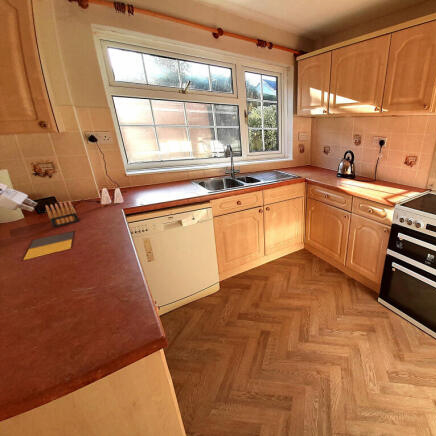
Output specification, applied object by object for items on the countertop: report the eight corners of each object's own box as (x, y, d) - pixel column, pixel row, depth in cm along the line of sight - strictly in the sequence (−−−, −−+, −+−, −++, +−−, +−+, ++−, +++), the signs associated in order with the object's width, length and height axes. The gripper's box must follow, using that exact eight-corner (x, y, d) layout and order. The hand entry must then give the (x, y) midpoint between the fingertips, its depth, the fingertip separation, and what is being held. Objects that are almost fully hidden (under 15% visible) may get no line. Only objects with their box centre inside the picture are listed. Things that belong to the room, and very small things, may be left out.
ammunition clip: (78, 220, 133) (70, 199, 129) (79, 221, 132) (71, 200, 128) (53, 227, 126) (43, 205, 121) (53, 228, 125) (43, 206, 120)
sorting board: (24, 262, 93) (22, 259, 93) (34, 242, 110) (33, 239, 109) (71, 250, 101) (70, 248, 101) (74, 233, 118) (73, 231, 117)
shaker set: (102, 206, 155) (96, 190, 151) (102, 205, 158) (96, 188, 154) (124, 202, 162) (119, 186, 157) (123, 201, 165) (118, 185, 160)
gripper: (-3, 193, 118) (34, 207, 127) (-16, 203, 103) (26, 218, 112) (6, 182, 119) (42, 197, 128) (-6, 190, 104) (35, 207, 113)
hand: (34, 207), depth 120 cm, fingers open, 8 cm apart
